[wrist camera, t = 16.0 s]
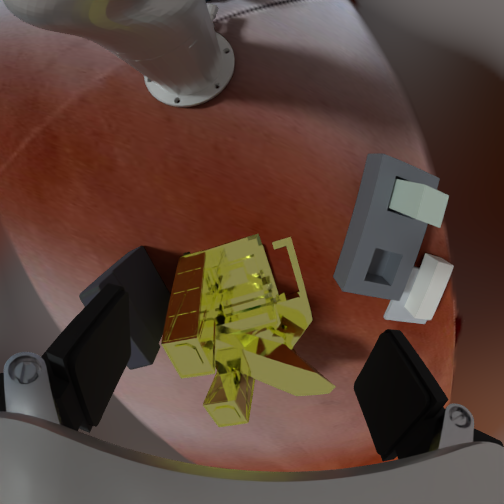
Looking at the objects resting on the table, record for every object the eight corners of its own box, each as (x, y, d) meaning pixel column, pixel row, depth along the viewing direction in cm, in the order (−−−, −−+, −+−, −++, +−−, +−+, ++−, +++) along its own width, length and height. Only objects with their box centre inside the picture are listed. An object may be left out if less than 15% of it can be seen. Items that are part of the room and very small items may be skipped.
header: (367, 153, 35) (383, 153, 30) (421, 175, 36) (439, 178, 31) (333, 276, 41) (342, 291, 36) (386, 287, 41) (399, 301, 37)
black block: (124, 253, 40) (73, 297, 25) (146, 242, 39) (97, 285, 25) (158, 312, 43) (126, 372, 29) (180, 303, 42) (152, 366, 28)
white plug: (404, 306, 42) (425, 252, 39) (420, 308, 42) (440, 257, 39) (414, 318, 38) (438, 261, 35) (430, 320, 38) (454, 265, 35)
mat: (404, 264, 40) (407, 266, 39) (444, 274, 41) (446, 276, 40) (383, 316, 43) (385, 319, 43) (423, 321, 44) (424, 324, 43)
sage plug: (386, 177, 34) (425, 184, 25) (407, 185, 35) (448, 195, 25) (379, 203, 36) (415, 219, 26) (401, 211, 36) (440, 228, 26)
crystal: (224, 376, 47) (217, 444, 33) (165, 254, 40) (123, 306, 25) (323, 351, 46) (345, 418, 31) (286, 215, 38) (309, 251, 23)
